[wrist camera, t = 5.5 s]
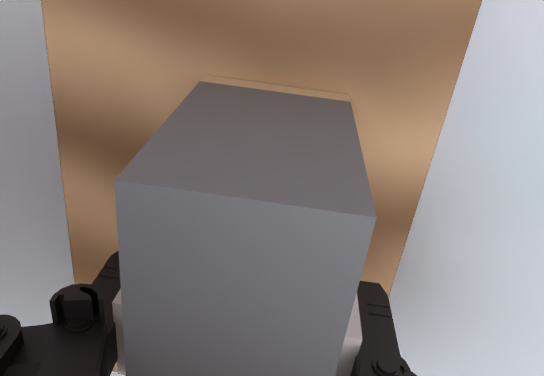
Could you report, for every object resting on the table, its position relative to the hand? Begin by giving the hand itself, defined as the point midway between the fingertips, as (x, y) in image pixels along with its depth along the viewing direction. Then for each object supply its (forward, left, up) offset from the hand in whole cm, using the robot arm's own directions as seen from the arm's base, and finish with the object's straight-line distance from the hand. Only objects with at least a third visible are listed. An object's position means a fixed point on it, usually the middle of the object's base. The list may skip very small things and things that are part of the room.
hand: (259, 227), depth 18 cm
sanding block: (0, 0, 0) cm, 0 cm away
